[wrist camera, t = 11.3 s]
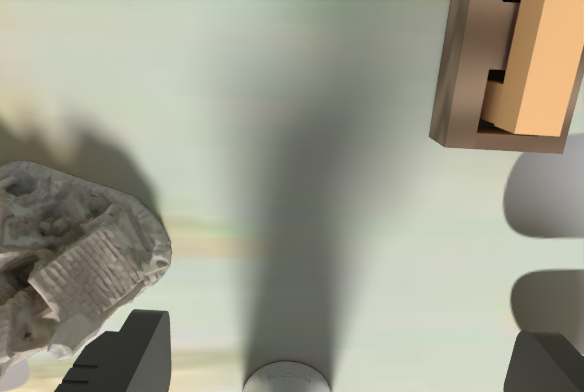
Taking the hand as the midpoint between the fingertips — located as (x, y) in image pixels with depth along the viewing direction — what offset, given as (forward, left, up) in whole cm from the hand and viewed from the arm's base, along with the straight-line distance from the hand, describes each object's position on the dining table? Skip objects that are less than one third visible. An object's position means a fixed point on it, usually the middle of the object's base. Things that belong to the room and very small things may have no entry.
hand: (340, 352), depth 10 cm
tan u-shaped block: (+8, -15, -28) cm, 33 cm away
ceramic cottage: (-11, +21, -28) cm, 37 cm away
